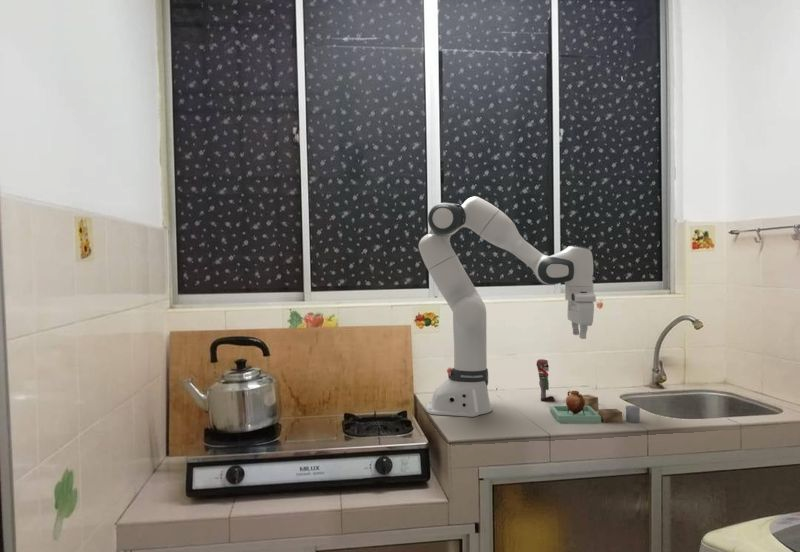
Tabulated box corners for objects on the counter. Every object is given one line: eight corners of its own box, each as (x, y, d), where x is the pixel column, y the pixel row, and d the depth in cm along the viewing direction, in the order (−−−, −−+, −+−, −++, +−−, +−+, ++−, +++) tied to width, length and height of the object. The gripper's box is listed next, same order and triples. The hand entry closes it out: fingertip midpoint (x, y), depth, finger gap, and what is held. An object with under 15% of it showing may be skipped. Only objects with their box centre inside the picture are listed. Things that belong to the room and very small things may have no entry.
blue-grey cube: (628, 423, 169) (628, 408, 168) (624, 419, 173) (624, 405, 172) (641, 423, 168) (641, 408, 168) (637, 419, 172) (637, 405, 172)
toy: (556, 406, 189) (556, 364, 188) (537, 406, 190) (537, 363, 190) (552, 394, 206) (552, 355, 206) (535, 394, 207) (535, 355, 207)
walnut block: (603, 423, 169) (603, 412, 169) (598, 420, 173) (597, 409, 173) (622, 423, 169) (622, 412, 169) (616, 419, 173) (615, 408, 173)
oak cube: (587, 412, 182) (587, 398, 182) (578, 408, 186) (578, 395, 186) (598, 410, 184) (598, 397, 184) (588, 407, 188) (588, 394, 188)
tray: (558, 422, 170) (558, 416, 170) (550, 411, 183) (550, 405, 183) (601, 423, 169) (601, 416, 169) (589, 411, 182) (589, 405, 182)
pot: (584, 420, 172) (585, 412, 178) (584, 395, 171) (585, 389, 177) (565, 418, 174) (566, 411, 180) (564, 394, 173) (566, 388, 179)
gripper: (562, 293, 189) (562, 332, 190) (576, 296, 169) (576, 340, 169) (581, 293, 189) (581, 332, 189) (597, 296, 169) (597, 341, 169)
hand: (579, 336), depth 179 cm, fingers open, 8 cm apart
